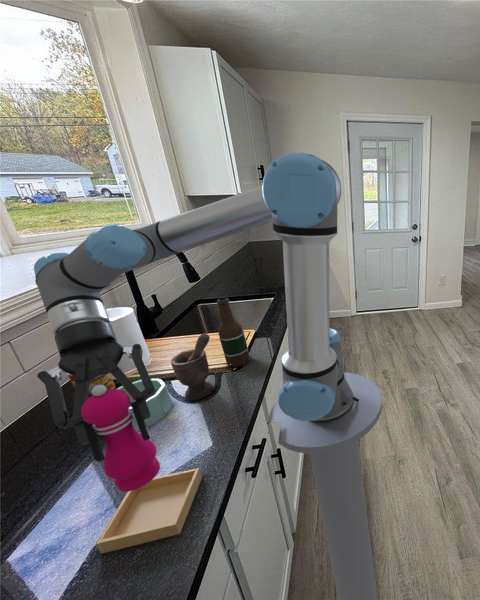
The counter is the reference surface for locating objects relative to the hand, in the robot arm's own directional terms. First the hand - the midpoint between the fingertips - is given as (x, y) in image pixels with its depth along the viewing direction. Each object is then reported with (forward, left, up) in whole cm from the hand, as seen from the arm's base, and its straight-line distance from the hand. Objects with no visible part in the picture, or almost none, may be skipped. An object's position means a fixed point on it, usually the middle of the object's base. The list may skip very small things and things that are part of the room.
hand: (124, 448), depth 52 cm
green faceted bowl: (+21, -36, -19) cm, 46 cm away
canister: (+39, -67, -19) cm, 80 cm away
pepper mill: (+2, -3, -10) cm, 10 cm away
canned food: (+35, -47, -19) cm, 62 cm away
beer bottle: (-1, -58, -19) cm, 61 cm away
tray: (+2, -3, -19) cm, 19 cm away
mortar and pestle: (+5, -42, -19) cm, 46 cm away
